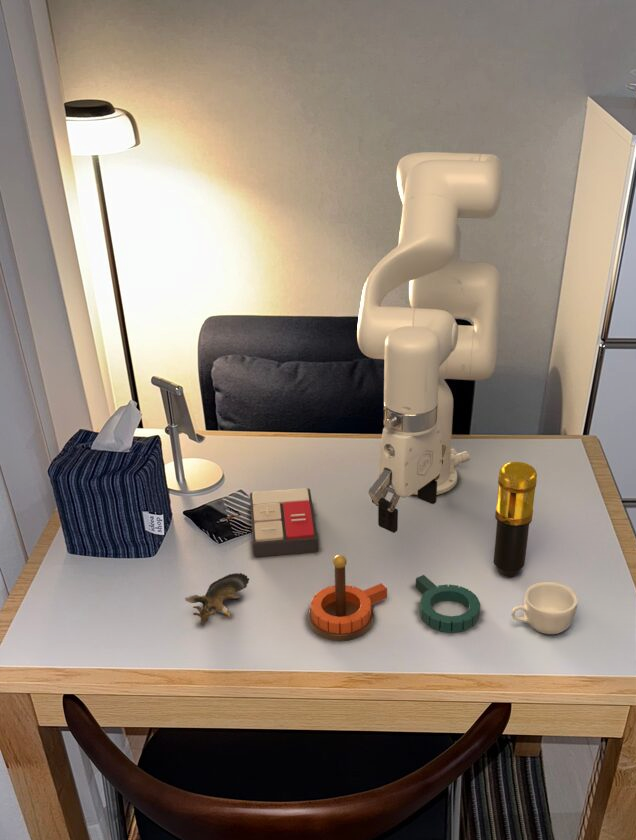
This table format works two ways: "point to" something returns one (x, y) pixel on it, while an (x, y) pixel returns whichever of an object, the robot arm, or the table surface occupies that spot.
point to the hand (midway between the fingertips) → (407, 514)
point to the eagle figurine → (219, 595)
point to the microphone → (513, 516)
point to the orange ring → (352, 595)
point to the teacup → (548, 607)
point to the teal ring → (444, 593)
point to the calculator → (283, 522)
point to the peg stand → (340, 606)
